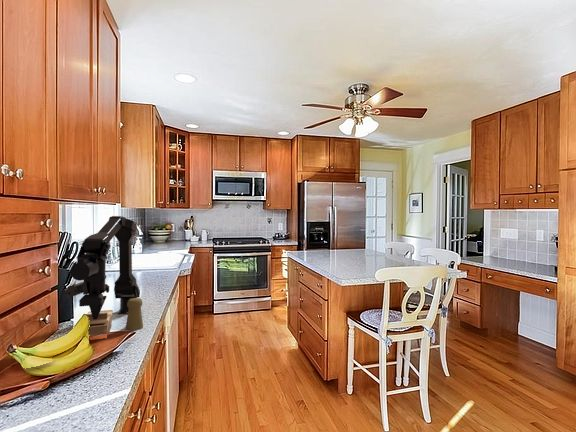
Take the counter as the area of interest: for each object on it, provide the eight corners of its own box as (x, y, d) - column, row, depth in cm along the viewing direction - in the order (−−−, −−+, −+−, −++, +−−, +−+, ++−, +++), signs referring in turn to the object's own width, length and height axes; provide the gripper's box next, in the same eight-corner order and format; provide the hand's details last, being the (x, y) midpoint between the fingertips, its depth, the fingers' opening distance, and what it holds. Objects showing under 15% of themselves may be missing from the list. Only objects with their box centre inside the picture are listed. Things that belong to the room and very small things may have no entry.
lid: (88, 314, 119) (88, 306, 119) (112, 312, 122) (112, 304, 122) (81, 325, 108) (81, 316, 108) (108, 322, 111) (108, 314, 111)
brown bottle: (138, 323, 124) (139, 295, 123) (146, 327, 120) (146, 298, 120) (122, 327, 119) (123, 298, 119) (129, 332, 115) (130, 301, 115)
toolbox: (86, 329, 117) (87, 316, 117) (111, 326, 120) (111, 314, 120) (79, 341, 106) (79, 328, 106) (106, 338, 109) (107, 325, 109)
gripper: (74, 270, 115) (74, 313, 115) (60, 281, 98) (59, 331, 98) (109, 268, 119) (109, 310, 119) (101, 279, 102) (101, 327, 102)
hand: (95, 319), depth 110 cm, fingers closed
